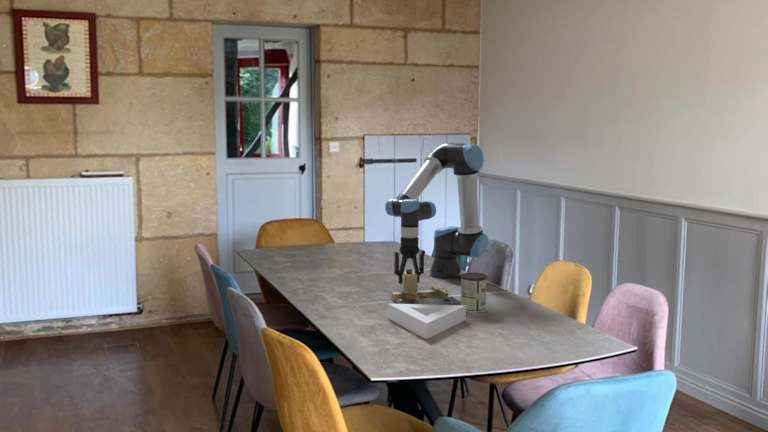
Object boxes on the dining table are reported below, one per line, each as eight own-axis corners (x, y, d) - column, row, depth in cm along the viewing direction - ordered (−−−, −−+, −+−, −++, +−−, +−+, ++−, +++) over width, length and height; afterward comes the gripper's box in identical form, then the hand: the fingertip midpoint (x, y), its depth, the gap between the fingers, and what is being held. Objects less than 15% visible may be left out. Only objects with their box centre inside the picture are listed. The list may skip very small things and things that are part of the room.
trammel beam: (443, 295, 338) (443, 285, 338) (456, 303, 325) (456, 293, 324) (390, 298, 331) (390, 288, 331) (401, 307, 318) (401, 296, 317)
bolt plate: (452, 300, 330) (452, 295, 330) (461, 306, 321) (461, 301, 320) (395, 304, 323) (395, 299, 322) (403, 310, 313) (403, 305, 313)
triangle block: (426, 340, 276) (426, 323, 275) (365, 328, 290) (365, 311, 289) (465, 321, 300) (465, 305, 300) (407, 311, 314) (407, 295, 314)
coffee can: (463, 305, 322) (464, 271, 320) (488, 307, 319) (489, 273, 317) (457, 311, 313) (458, 276, 311) (482, 313, 309) (483, 278, 307)
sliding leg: (411, 292, 334) (411, 267, 333) (423, 301, 320) (424, 275, 318) (400, 293, 333) (400, 268, 331) (412, 302, 319) (412, 275, 317)
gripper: (426, 234, 333) (425, 287, 336) (386, 235, 328) (385, 290, 331) (433, 237, 326) (431, 291, 329) (391, 238, 320) (391, 294, 324)
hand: (408, 290), depth 330 cm, fingers closed on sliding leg, 5 cm apart
